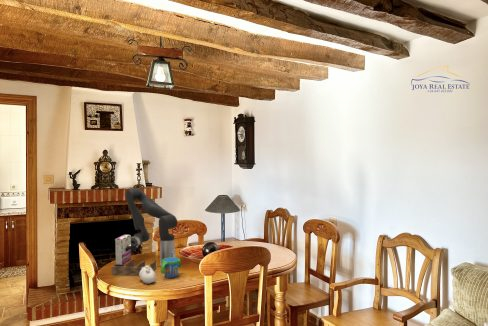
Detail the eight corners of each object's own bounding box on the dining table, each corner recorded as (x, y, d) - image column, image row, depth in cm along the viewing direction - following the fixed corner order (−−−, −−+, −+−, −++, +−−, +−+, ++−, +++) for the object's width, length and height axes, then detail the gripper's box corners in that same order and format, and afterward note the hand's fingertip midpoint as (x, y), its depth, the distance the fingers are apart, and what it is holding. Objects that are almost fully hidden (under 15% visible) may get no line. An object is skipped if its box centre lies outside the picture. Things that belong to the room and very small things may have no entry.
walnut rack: (156, 268, 236) (156, 260, 236) (147, 276, 221) (147, 267, 221) (122, 267, 239) (122, 259, 239) (111, 274, 224) (111, 266, 224)
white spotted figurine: (153, 268, 205) (145, 259, 218) (140, 277, 202) (133, 267, 215) (161, 280, 209) (152, 271, 221) (149, 290, 206) (141, 279, 218)
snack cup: (174, 271, 230) (174, 255, 230) (186, 274, 224) (186, 258, 224) (155, 278, 218) (155, 260, 218) (167, 281, 212) (167, 264, 211)
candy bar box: (124, 259, 237) (124, 234, 237) (131, 260, 236) (131, 234, 236) (115, 264, 226) (114, 238, 226) (122, 265, 225) (122, 238, 225)
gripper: (122, 237, 246) (110, 243, 229) (142, 237, 245) (132, 244, 228) (122, 248, 246) (110, 255, 229) (142, 248, 245) (132, 256, 228)
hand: (121, 249), depth 229 cm, fingers closed on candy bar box, 5 cm apart
